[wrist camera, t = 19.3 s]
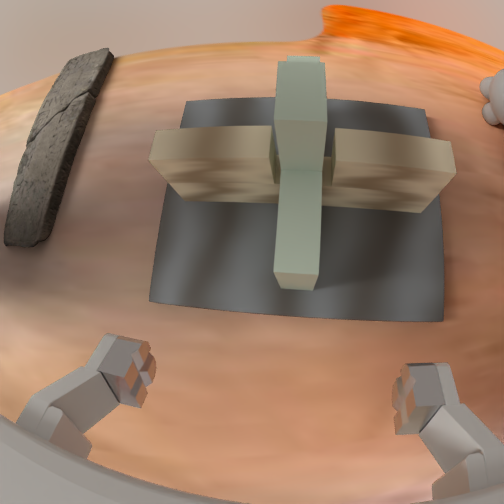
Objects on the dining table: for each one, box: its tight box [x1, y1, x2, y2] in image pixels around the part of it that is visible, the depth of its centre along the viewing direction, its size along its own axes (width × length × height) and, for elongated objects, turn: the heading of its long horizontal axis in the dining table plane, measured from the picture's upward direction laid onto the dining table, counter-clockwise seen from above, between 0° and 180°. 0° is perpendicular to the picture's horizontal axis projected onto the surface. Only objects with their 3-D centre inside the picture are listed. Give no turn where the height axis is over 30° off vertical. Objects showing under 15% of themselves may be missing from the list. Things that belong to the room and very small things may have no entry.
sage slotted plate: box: [273, 56, 327, 291], centre depth 20 cm, size 16×2×12 cm, turn 175°
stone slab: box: [4, 48, 114, 247], centre depth 34 cm, size 10×3×30 cm
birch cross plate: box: [148, 97, 457, 322], centre depth 23 cm, size 24×20×9 cm
